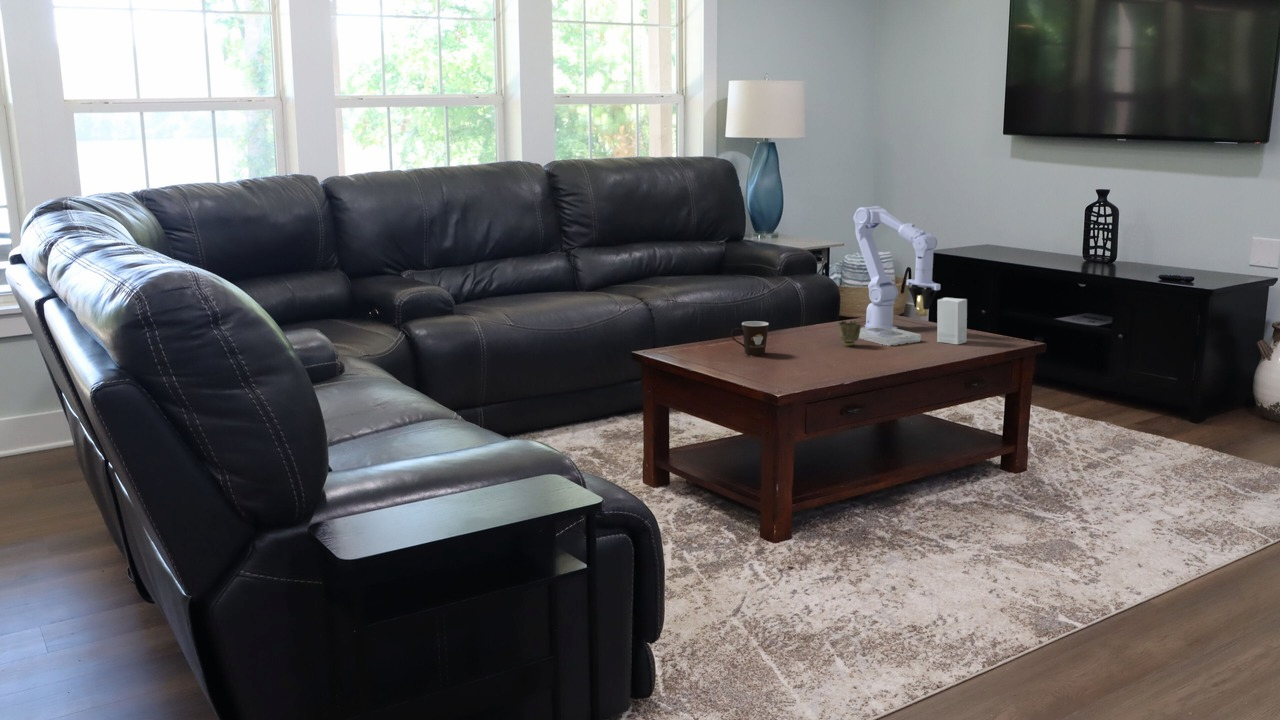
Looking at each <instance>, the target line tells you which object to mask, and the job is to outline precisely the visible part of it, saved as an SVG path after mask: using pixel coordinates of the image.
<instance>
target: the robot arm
mask: <svg viewBox="0 0 1280 720" xmlns="http://www.w3.org/2000/svg"><path fill="white" fill-rule="evenodd" d="M852 218H853V221H854V224H855V225H854V226H855V227H854V228H855V229H854V230H855V237H856V240H857V242H858V246H859V249H860V252H861V255H862V259H863V260H864V263H865V267H866V269H867V273H868V275H869V278H870V282H869V283H868V285H867V288H868V298H869V300H870V301H871V302H870V303H868V306H867V307H866V312H865V313H866V315H865V324H864V325H863V327H864V326H865V327H870V326H878V325H883V326H887V327H891V328H896V329H899V328H898V326H894V325H893V323H894V304H895V301H897V298H898V296H899V290H898V287H896V285H895V284H894V282H893V280H892V279H891V278H890V277H889V276H888V275H886V272H885V271H886V270H885V269H884V266H883V262H882V260H881V257H880V254H879V252H878V248H877V245H876V243H875V239H874V236H873V235H874V234H873V233H874V232H875V230H876V229H877V228H878V227H879V225H880V224H882V225H884V226H886V227H888V228H890V229H892V230H893V231H895V232H897V233H898V236H899V238H901V239H902V240H903V241H905V242H907V243H909V244H911V245H912V246H913V249H914V252H915V253H914V254H915V271H914V279H912V278H911V279H906V286H910V287H908V290H909V293H910V294H911V297H912V300H913V301H912V302H913V306H914V308H915V309H916V301H917V295H918V294H923V307H924V309H925V310H926V309H928V310H931V305H932V302H933V300H934V298H935V296H936V294H937V293H938V291H940V290H941V284H940V283H936V282H934V281H933V268H934V265H933V264H934V250H935V249H936V248H937V246H938V239H937V237H936V236H935V234H933V233H926V232H925V230H924V229H920V228H919V227H916V226H915V224H916V223H914V222H907V223H904V222H902V221H901V220H899V219H898V218H896V217H895V216H894V215H892V214H891V213H889V212H888V211H887V210H886V209H885V208H883V207H882V206H880V205H874V206H866V207H865V206H864V207H863V206H860V207H857V209H856V211H855V212H854V215H853V217H852Z"/></svg>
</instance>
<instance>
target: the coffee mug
mask: <svg viewBox="0 0 1280 720" xmlns="http://www.w3.org/2000/svg"><path fill="white" fill-rule="evenodd" d="M735 331H740V332H741V334H742V339H743V342H740V341H739V340H737V339H736V338H735V337H734V336H733V334H734V332H735ZM768 333H769V322H766V321H759V320H758V321H757V320H753V321H752V320H751V321H750V320H749V321H743V322H742V323H741V328H739V327H734V328H733V329H731V332H730V337H731V339H732V340H733V341H734V342H736V343H737V344H739V345H741V346H742V347H743V348H744V349H743V350H744V355H745V354H747V355H746V356H748V355H753V356H752V357H760V356H759V355H762V356H765V355H764V354H766V348H767V347H766V346H767V339H768Z"/></svg>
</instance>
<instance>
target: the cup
mask: <svg viewBox="0 0 1280 720" xmlns="http://www.w3.org/2000/svg"><path fill="white" fill-rule="evenodd" d="M861 328H862V322H860V321H856V320H854V321H853V320H850V321H849V322H847V321H846V320H845V321H843V320H841V321H839V322H838V331H839V333H838V334H839V339H841V340H842V341H843V345H844V347H848V348H851V347H854V346H855V344H856V342H857V340H858V339H859V335H860V329H861Z"/></svg>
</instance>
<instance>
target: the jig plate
mask: <svg viewBox="0 0 1280 720" xmlns="http://www.w3.org/2000/svg"><path fill="white" fill-rule="evenodd" d="M921 337H922V335H921V334H920V333H915V332H912V331H908V330H904V329H899V328H897V329H896V328H891V327H887V326H883V325H878V326H870V327H864V326H863V327H862V326H861V329H860V335H859V338H858V339H860V340H863V339H864V341H868V342H872V343H876V344H879V345H882V344H883V346H886V345H887V347H892V346H891V345H893V346H898V344H900V345H906V343H908V344H913V343H914V342H915V343H921V340H922V338H921Z"/></svg>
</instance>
